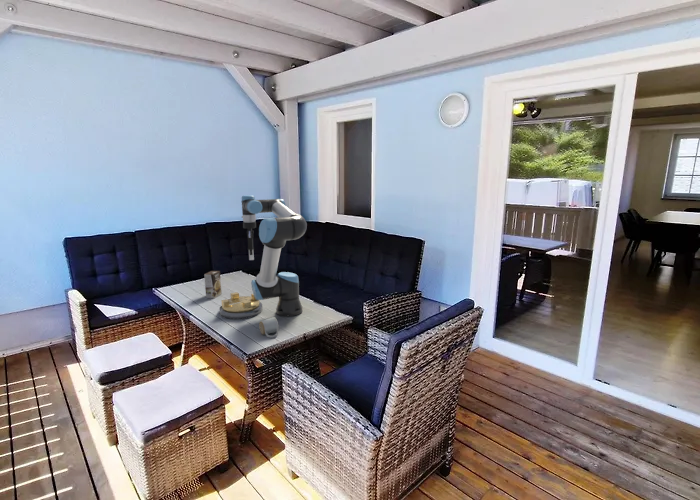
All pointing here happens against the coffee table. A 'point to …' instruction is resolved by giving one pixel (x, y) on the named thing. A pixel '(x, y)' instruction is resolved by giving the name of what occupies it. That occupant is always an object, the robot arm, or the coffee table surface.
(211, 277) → the printed cardboard box
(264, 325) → the ceramic mug
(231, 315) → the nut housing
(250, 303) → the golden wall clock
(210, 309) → the coffee table surface
